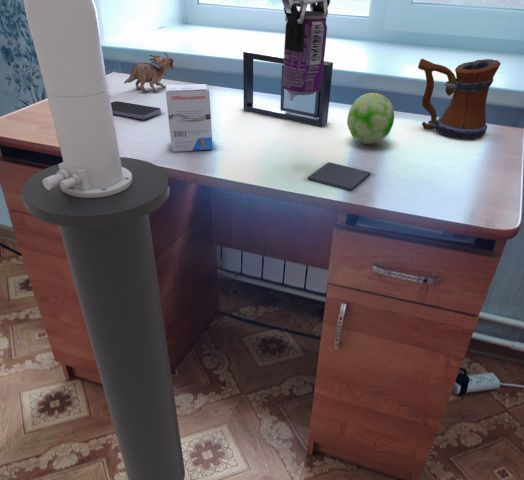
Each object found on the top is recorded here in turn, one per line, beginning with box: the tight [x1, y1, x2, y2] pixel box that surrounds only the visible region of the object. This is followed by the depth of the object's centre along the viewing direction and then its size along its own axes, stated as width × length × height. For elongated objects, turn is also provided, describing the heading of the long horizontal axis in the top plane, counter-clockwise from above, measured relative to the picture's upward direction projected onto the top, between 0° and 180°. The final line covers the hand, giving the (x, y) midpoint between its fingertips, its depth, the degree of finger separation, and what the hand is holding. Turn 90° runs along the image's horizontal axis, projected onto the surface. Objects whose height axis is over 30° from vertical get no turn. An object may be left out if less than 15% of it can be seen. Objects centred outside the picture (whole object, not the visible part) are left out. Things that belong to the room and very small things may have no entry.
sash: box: [279, 64, 321, 118], centre depth 115 cm, size 6×10×10 cm, turn 58°
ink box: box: [165, 83, 214, 153], centre depth 103 cm, size 8×5×12 cm, turn 100°
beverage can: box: [282, 10, 328, 95], centre depth 88 cm, size 7×7×12 cm
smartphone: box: [111, 100, 162, 121], centre depth 124 cm, size 7×1×15 cm
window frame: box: [242, 49, 334, 128], centre depth 119 cm, size 3×22×13 cm, turn 58°
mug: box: [417, 58, 501, 141], centre depth 113 cm, size 18×12×15 cm, turn 77°
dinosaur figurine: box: [123, 52, 175, 94], centre depth 136 cm, size 14×6×9 cm, turn 101°
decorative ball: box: [346, 92, 395, 145], centre depth 108 cm, size 10×10×10 cm
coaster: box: [307, 162, 372, 192], centre depth 96 cm, size 9×9×1 cm
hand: (304, 46), depth 87 cm, fingers closed on beverage can, 7 cm apart
